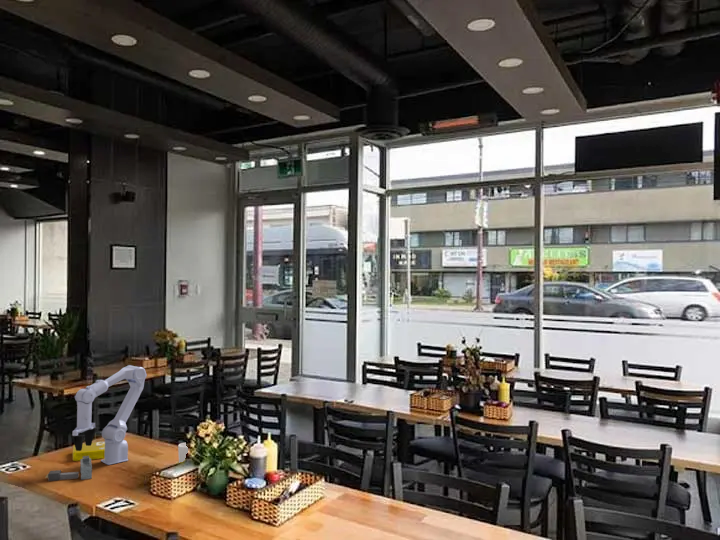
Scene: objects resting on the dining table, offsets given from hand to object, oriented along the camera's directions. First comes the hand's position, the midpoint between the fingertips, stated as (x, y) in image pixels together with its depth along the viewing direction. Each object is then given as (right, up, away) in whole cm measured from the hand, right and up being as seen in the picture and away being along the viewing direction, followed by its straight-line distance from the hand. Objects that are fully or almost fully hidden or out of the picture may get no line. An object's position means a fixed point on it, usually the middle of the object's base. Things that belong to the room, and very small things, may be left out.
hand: (83, 448), depth 256 cm
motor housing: (+4, -9, -7) cm, 12 cm away
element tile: (-6, -10, +20) cm, 24 cm away
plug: (-3, -9, -11) cm, 15 cm away
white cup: (+44, -10, +6) cm, 45 cm away
